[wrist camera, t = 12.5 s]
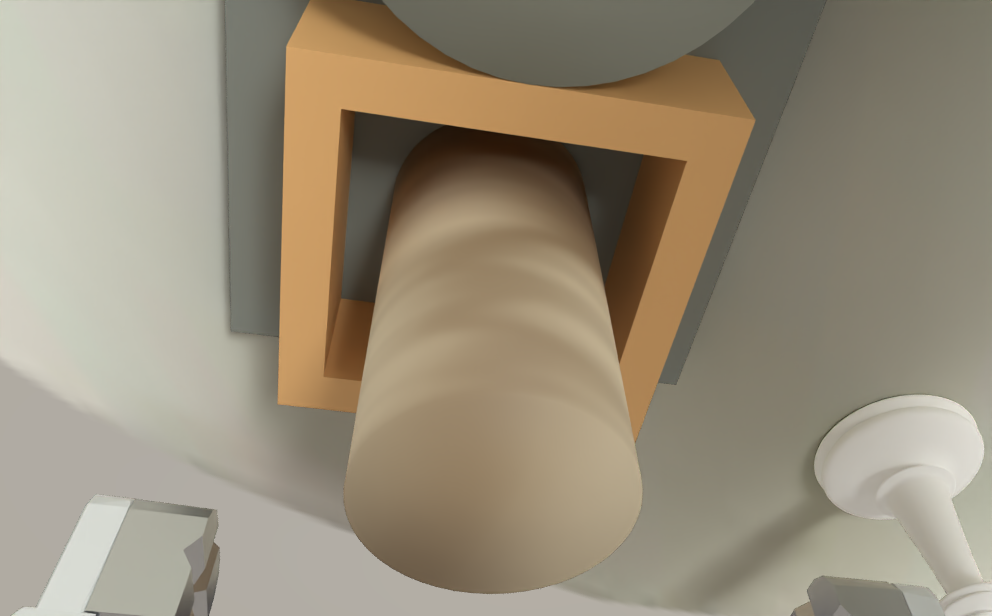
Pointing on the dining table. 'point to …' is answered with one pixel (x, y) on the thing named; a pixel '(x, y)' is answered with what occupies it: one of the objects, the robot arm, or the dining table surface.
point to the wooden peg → (491, 376)
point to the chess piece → (912, 483)
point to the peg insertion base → (504, 109)
